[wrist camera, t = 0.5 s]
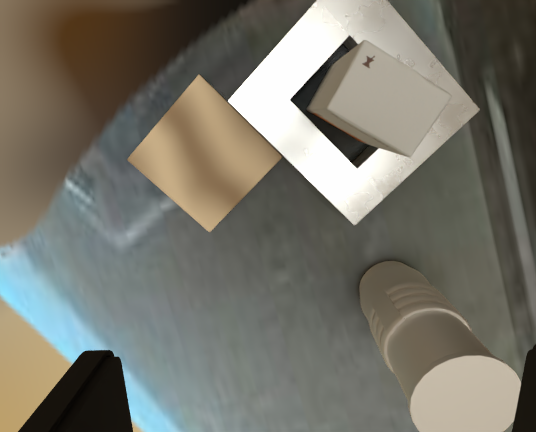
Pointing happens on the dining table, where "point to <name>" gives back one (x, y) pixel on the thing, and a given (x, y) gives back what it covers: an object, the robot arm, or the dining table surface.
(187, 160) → the wooden coaster
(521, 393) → the robot arm
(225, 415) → the dining table surface
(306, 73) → the white rectangular frame
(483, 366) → the white ribbed canister
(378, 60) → the skincare box
